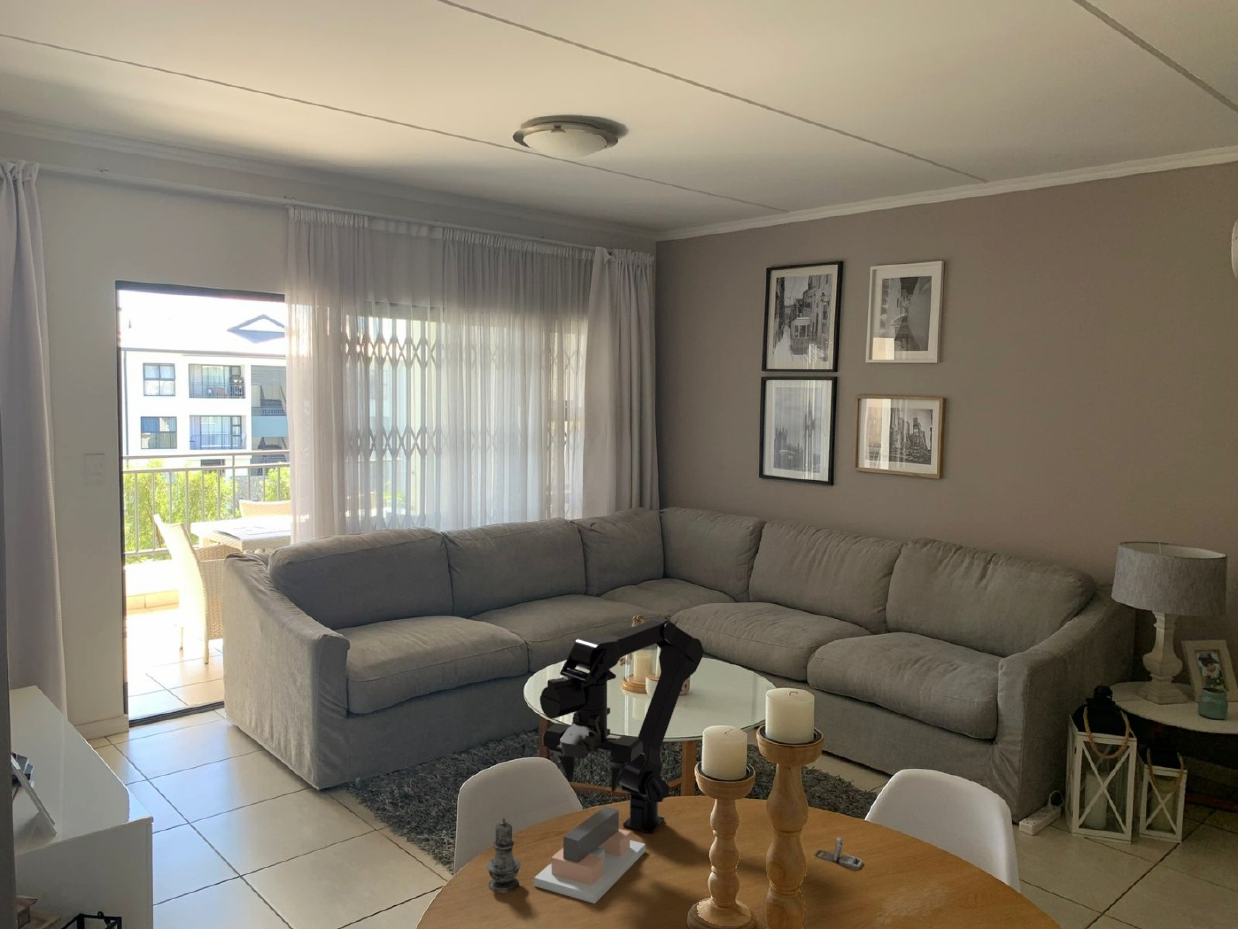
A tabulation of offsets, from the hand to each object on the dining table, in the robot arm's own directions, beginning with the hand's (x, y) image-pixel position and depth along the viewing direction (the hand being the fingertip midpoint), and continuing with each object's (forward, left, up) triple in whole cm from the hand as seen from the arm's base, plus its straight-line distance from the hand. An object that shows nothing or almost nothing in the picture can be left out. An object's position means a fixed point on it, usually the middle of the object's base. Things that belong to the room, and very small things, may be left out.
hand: (591, 786), depth 172 cm
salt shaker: (+19, -7, -12) cm, 24 cm away
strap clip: (-17, +43, -12) cm, 48 cm away
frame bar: (+7, +4, -7) cm, 11 cm away
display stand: (+7, +4, -12) cm, 14 cm away
